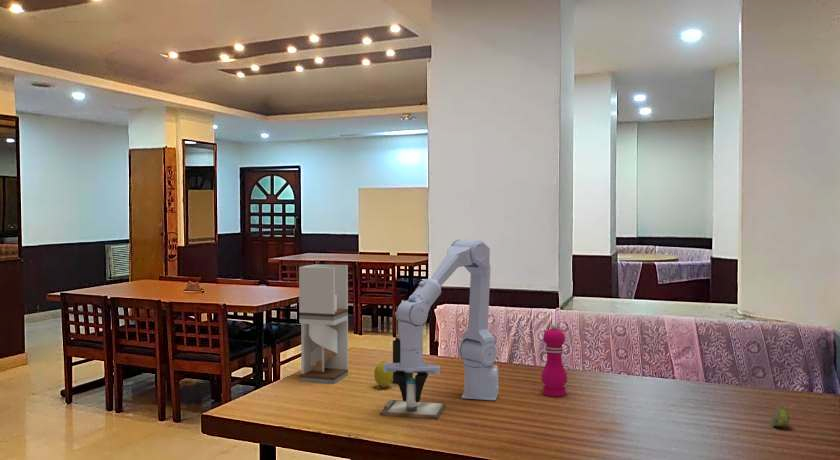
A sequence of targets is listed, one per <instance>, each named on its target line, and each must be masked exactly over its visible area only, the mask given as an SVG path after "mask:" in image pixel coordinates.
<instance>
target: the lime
mask: <svg viewBox="0 0 840 460" xmlns="http://www.w3.org/2000/svg"><path fill="white" fill-rule="evenodd" d="M770 418H771V420H770V425H771V426H772V427H774V426H775V427H774V428H784V427H787V426H788V424H789V422H790V415H789V412H788V410H787V408H785V407H784V406H781V405H778V406H776V408H775V409H774V410H773V412H772V415H771V417H770Z"/></svg>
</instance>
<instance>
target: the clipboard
mask: <svg viewBox="0 0 840 460" xmlns="http://www.w3.org/2000/svg"><path fill="white" fill-rule="evenodd" d="M446 407H447V403H441V402H427V401H425V402H424V401H419V402H417V410H416V411H407V410H406V402H403V400H398V399H397V400H396V399H391V400H390V399H389V400H388V401H387V402H386V403H385V404H384V406H383V409H381V410H380V412H379V415H380V416H388V417H400V418H401V417H402V418H403V417H404V418H416V419H429V420H438V419H439V418H440V416H441V415H442V413H443V411H444V410H445V408H446Z"/></svg>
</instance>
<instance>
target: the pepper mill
mask: <svg viewBox="0 0 840 460" xmlns="http://www.w3.org/2000/svg"><path fill="white" fill-rule="evenodd" d="M565 341H566V336H565V334H564V332H563V331H562V330H561V329H558V324H556V323H552V324H551V325H550V329H547V330H546V331H545V332H544V333H543V342H544V343H545V346H544V347H545V349H544V350H545V352H546V363H545V365H544V367H543V370H542V372H541V379H540V380H541V382H542V383H543V387H542V393H543V395H545V396H548V397H555V398H556V397H557V398H558V397H564V396H565V395H566V393H567V392H566V387H565V385H566V384H567V382H568V375H567V371H566V369H565V368H564V364H563V361H562V353H563V352H564V347H563V345H564V343H565Z"/></svg>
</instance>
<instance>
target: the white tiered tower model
mask: <svg viewBox="0 0 840 460" xmlns="http://www.w3.org/2000/svg"><path fill="white" fill-rule="evenodd" d="M348 266H349V265H348V264H310V265H303V266H299V267H298V287H299V289H298V290H299V291H298V299H299V300H298V303H299V304H298V307H299V309H298V310H299V311H298V312H299V315H298V317H299V321H298V322H299V324H300V325H301V326H300V331H301V332H300V333H301V335H300V337H301V339H300V340H301V341H300V342H301V346H300V348H301V350H300V351H301V352H300V353H301V354H300V355H301V357H300V358H301V363H300V364H301V371H300V372H301V373H300V374H299V382H304V383H317V384H328V385H329V384H330V385H335V384H337V383H338V382H340V381H341V380H343V379H345V378H346V377H348V376H349V304H348V303H349V291H348V289H349V282H348V281H349V279H348V278H349V275H348V274H349V273H348V272H349V271H348V270H349V267H348Z"/></svg>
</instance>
